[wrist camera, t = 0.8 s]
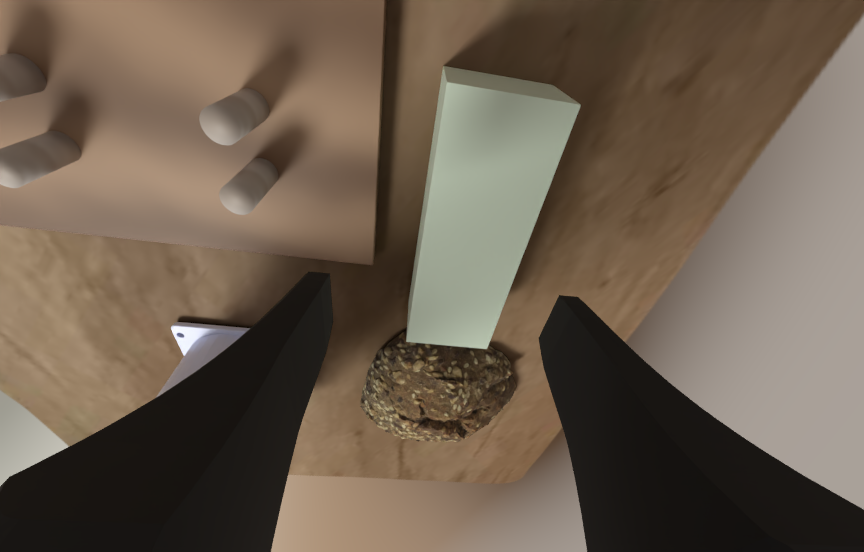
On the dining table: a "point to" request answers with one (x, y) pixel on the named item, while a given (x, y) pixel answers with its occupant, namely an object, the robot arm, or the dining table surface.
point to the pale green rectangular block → (482, 200)
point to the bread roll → (435, 389)
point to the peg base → (195, 122)
